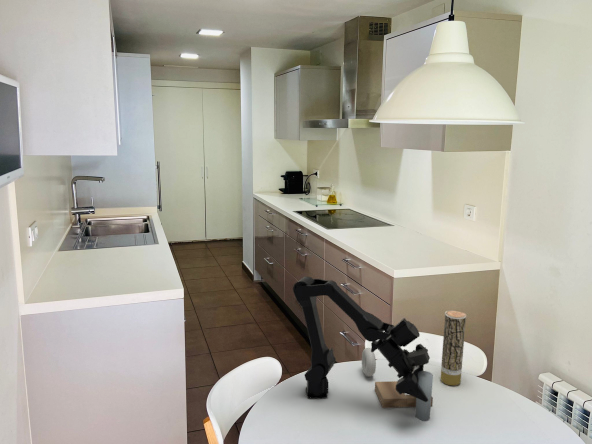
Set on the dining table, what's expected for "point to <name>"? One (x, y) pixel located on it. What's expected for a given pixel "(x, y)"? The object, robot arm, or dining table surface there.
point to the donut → (368, 362)
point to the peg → (426, 386)
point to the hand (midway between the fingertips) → (428, 394)
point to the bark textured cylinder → (453, 347)
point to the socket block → (393, 396)
